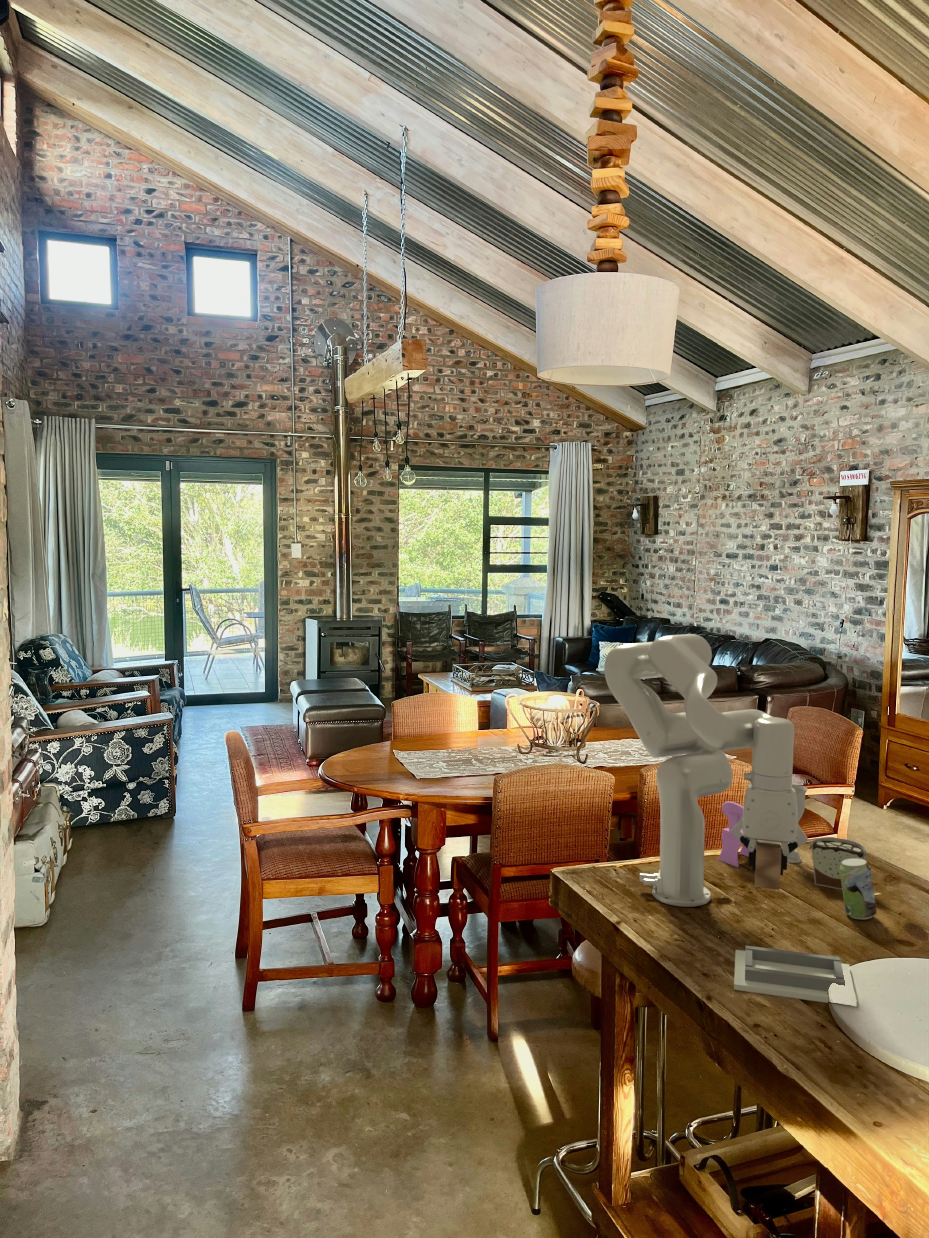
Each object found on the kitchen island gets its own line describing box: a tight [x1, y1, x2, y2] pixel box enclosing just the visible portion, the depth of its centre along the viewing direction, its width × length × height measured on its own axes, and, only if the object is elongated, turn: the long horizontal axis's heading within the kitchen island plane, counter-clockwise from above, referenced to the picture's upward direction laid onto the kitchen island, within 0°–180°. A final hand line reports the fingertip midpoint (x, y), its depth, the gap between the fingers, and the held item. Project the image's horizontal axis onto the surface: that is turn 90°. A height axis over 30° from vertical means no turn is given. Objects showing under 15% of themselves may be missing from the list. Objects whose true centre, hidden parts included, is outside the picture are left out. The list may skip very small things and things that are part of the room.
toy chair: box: [717, 801, 756, 868], centre depth 222 cm, size 8×9×15 cm
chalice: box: [787, 783, 808, 864], centre depth 222 cm, size 7×7×18 cm
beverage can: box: [840, 858, 878, 920], centre depth 189 cm, size 6×7×12 cm
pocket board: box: [733, 945, 851, 1004], centre depth 162 cm, size 20×14×3 cm
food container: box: [808, 837, 868, 890], centre depth 206 cm, size 12×6×10 cm, turn 58°
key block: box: [754, 840, 782, 891], centre depth 178 cm, size 4×11×7 cm, turn 162°
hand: (767, 870), depth 178 cm, fingers closed on key block, 4 cm apart
